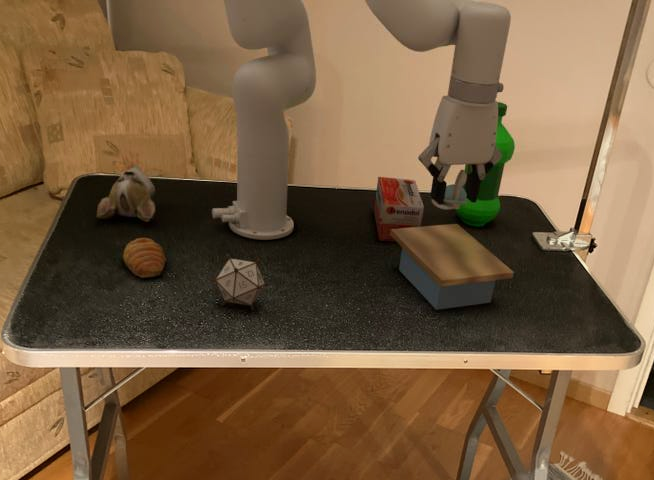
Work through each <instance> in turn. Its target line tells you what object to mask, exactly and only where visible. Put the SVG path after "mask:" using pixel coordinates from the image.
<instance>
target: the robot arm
mask: <svg viewBox="0 0 654 480" xmlns="http://www.w3.org/2000/svg"><path fill="white" fill-rule="evenodd" d="M364 2H365V4H366V5H367V6H368V8H369V9H370V12H371V13H372V14H373V15H374V17H376V19H377V20H378V21H379V22H380V23H381V24H382V26H383V27H384V28H385V29H386V30H387V31H388V32H389V33H390V34H391V36H392V37H393V38H394V39H396V41H397V42H399V44H401V45H402V46H403V47H405V48H407V49H408V50H411V51H413V52H418V53H425V52H429V51H432V50H434V49H438V48H442V47H448V46H449V47H450V46H454V51H453V57H452V66H451V70H450V77H449V83H448V90H447V95H442V96H441V99H440V102H439V105H438V107H437V110H436V113H435V116H434V121H433V124H432V129H431V133H430V138H429V143H428V145H427V146H426V148H425V149H424V150H423V151H422V152H421V153H420V154H419V155H418V157H417V159H418V161H419V162H420V163H421V164H422V165H423V167H425V169H426V170H427V171H428V172H429V174H430V176H431V177H432V182H431V189H430V196H431V200H432V199H433V200H434V201H436V202H437V203H438V204H439V205H442V204H443V205H444V204H445V201H443V200H444V197H445V191H446V186H448V185H447V181H446V180H445V179H446V177H447V176H448V174H449V171H450V168H451V167H452V166H457V165H458V166H461V165H466V164H470V168H471V174H468V176H467V180H466V186H465V192H466V194H467V197H466V198H467V199H468V200H470V201H471V202H472V203H475V202H476V201H477V195H478V194H479V189H480V184H481V180H483V179H484V178H485V174H486V173H487V172H489V171H490V170H491V169H492V167H493V165H495V164H496V163H497V162H498V161H499V160H500V159H501V158H502V154H501V153H500V151H499V149H498V148H497V146H496V144H495V142H496V135H497V126H498V102H499V101H497V97H498V93H503V91H504V90H505V89H504V84H503V82H500V78H501V73H502V67H503V63H504V58H505V54H506V53H505V52H506V48H507V43H508V37H509V32H510V27H511V20H512V16H511V12H510V11H509V9H508V8H507V7H505V6H503V5H500V4H497V3H492V2H486V1H485V2H484V1H474V0H364ZM223 3H224V4H223V5H224V8H225V13H226V19H227V23H228V27H229V32H230V35H231V37H232V40H233V41H234V42H235V43H236V44H237V45H238V46H239V47H240V48H242V49H245V50H250V51H251V50H253V51H255V50H262V49H267V55H265V56H260V57H257V58H254V59H251V60H248V61H247V62H245V63H243V64H242V65H241V66H240V67H239V68H238V69H237V71H236V72H235V74H234V76H233V79H232V84H231V85H232V86H231V92H232V93H231V94H232V100H233V105H234V110H235V111H234V112H235V116H236V118H235V119H236V128H237V129H236V141H237V142H236V147H237V149H236V151H237V154H236V155H237V157H236V159H237V161H236V164H237V166H236V168H237V169H236V170H237V171H236V200H233V201H232V205H228V206H227V207H223V208H222V207H221V208H220V207H216V208H215V207H214V208H212V209H211V216H212V219H221V221H222V223H228V227H229V229H230V230H231V231H232V232H233V233H235V234H236V235H238V236H241V237H244V238H248V239H252V240H259V241H268V240H276V239H281V238H282V239H283V238H285V237H286V236H287V237H288V236H289V235H290V234H292V232H293V231H294V228H295V225H294V220H293V219H292V217H291V216H288V214H287V208H288V188H289V187H288V184H289V163H290V132H289V131H290V130H289V128H288V127H289V126H288V124H287V120H286V116H285V111H287V110H289V109H291V108H295V107H298V106H300V105H302V104H304V103H305V102H307V101H309V99H310V98H311V97H312V96H313V94H314V92H315V89H316V86H317V70H316V63H315V56H314V55H315V54H314V48H313V41H312V35H311V28H310V27H311V26H310V21H309V16H308V12H307V9H306V7H305V4H304V3H303V1H302V0H223ZM433 157H434V158H436V160H435V162H434V163H433V161H432V158H433Z"/></svg>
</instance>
